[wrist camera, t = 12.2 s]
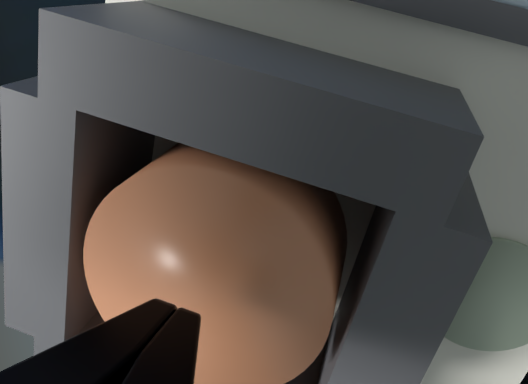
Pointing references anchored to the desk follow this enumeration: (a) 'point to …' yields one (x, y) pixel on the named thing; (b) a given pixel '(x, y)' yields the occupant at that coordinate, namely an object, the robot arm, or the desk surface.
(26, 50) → the desk surface
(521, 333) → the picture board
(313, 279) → the peach rounded disc
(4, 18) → the desk surface
